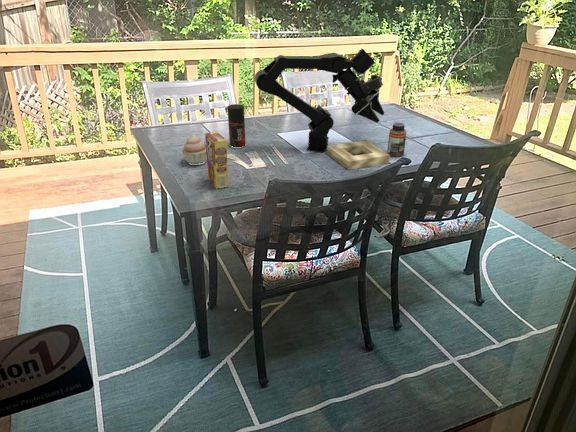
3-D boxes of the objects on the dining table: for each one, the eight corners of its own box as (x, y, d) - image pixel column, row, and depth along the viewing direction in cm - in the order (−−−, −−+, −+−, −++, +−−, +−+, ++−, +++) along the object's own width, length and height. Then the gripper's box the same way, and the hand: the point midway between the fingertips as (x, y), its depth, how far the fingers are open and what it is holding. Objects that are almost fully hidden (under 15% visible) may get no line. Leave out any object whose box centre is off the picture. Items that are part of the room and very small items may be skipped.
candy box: (230, 187, 143) (227, 139, 136) (216, 189, 142) (213, 142, 134) (220, 176, 150) (217, 131, 143) (207, 178, 149) (203, 133, 141)
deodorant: (238, 141, 179) (236, 103, 171) (248, 145, 175) (247, 106, 168) (226, 145, 175) (224, 106, 168) (236, 149, 171) (234, 109, 164)
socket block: (348, 170, 155) (348, 161, 154) (326, 153, 168) (327, 145, 167) (388, 163, 161) (389, 155, 159) (365, 147, 174) (365, 140, 172)
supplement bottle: (391, 150, 172) (395, 120, 166) (406, 153, 169) (410, 123, 163) (383, 154, 168) (387, 124, 162) (398, 158, 165) (402, 127, 159)
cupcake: (207, 156, 166) (205, 129, 161) (212, 165, 158) (210, 137, 153) (181, 159, 163) (178, 131, 158) (184, 169, 155) (181, 140, 150)
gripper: (363, 74, 150) (394, 110, 152) (375, 63, 165) (403, 96, 167) (338, 96, 156) (368, 131, 158) (352, 83, 171) (379, 116, 173)
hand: (381, 118), depth 164 cm, fingers open, 9 cm apart
